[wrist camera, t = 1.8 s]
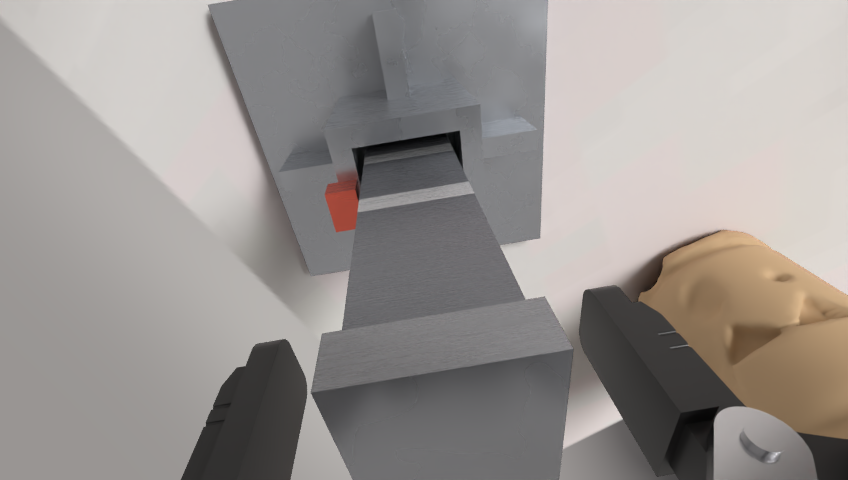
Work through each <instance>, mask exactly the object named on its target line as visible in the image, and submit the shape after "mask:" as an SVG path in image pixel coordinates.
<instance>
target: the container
mask: <svg viewBox="0 0 848 480" xmlns="http://www.w3.org/2000/svg"><path fill="white" fill-rule="evenodd" d="M662 265H663V268H662V272H661V274H660V276H659V278H658V280H657V282H656V284H655V285H654V286H653V287H652V288H651V289H650V290H648V291H646V292H641V294H640V296H639V298H638V302H639V301H641V302H643V303H644V304H646V305H648V306H649V307H651V308H653V309H654V310H656V311H658V312H659V313H661V314H662V315H663V316H664V317H665V318H666V320H667V321H668V322H669V323H670V324H671V325H672V326H673V327H674V328H675V329H676V333H679V334H680V335H681V336H682V337H683V338H684V339H685V340H686V342H687V343H688V346H689V347H692V348H693V349H694V350H695V351H696V353H697V354H698V355H699V356H700V357H701V358H702V359H703V360H704V361H705V362H706V364H707V365H708V366H709V367H710V368H711V369H712V370H713V371H714V372H715V373H716V375H717V376H718V377H719V378H720V379H721V380H722V381H723V382H724V383H725V384H726V386H727V387H728V388H729V389H730V390H731V391H732V392H733V393H734V394H735V395H736V397H737V398H738V399H739V400H740V401H741V402H742V403H743V404H744V405H745V406H747V407H749V408H753V409H757V410H760V411H763V412H765V413H768V414H770V415H772V416H774V417H776V418H777V419H779V420H781V421H783V422H784V423H785V424H787V425H788V426H789V427H791V428H792V429H793V430H794V431H795V432H800V433H805V434H813V435H820V436H827V437H834V438H842V439H848V295H846V294H844V293H843V292H841V291H840V290H838V289H836V288H835V287H833V286H831V285H830V284H828V283H827V282H825V281H823V280H822V279H820V278H819V277H817V276H816V275H814V274H813V273H811V272H809V271H808V270H806V269H804V268H803V267H801V266H800V265H798V264H796V263H795V262H793V261H792V260H790V259H788V258H787V257H785V256H784V255H782V254H780V253H779V252H777V251H774V250H772V249H771V248H770V247H769V246H767V245H766V244H765V243H763V242H761V241H760V240H758V239H757V238H755V237H753V236H751V235H749V234H746V233H743V232H738V231H728V230H720V231H719V232H718V233H715V234H713V235H710V236H706V237H705V238H703V239H700V240H698V241H696V242H694V243H692V244H690V245H687V246H684V247H681V248H679V249H678V250H676V251H674V252H672V253H670V254H668V255H667V256H665V257H664V258H663V262H662Z"/></svg>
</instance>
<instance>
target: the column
mask: <svg viewBox="0 0 848 480" xmlns="http://www.w3.org/2000/svg"><path fill="white" fill-rule="evenodd" d="M572 358H573V347H572V345H571V343H570V342H569V340H568V338H567V336H566V334H565V333H564V331H563V329H562V327H561V325H560V323H559V322H558V320H557V318H556V316H555V314H554V313H553V311H552V309H551V307H550V305H549V304H548V302H547V300H546V298H545V297H540V298H534V299H528V300H525V298H524V296H523V293H522V291H521V289H520V287H519V285H518V283H517V281H516V279H515V277H514V275H513V273H512V271H511V268H510V266H509V264H508V262H507V260H506V258H505V256H504V254H503V252H502V250H501V248H500V246H499V243H498V241H497V239H496V237H495V235H494V233H493V231H492V229H491V227H490V225H489V223H488V221H487V218H486V216H485V214H484V212H483V210H482V208H481V206H480V204H479V202H478V200H477V198H476V196H475V193H474V191H473V189H472V187H471V185H470V183H469V181H468V179H467V177H466V175H465V173H464V171H463V168H462V166H461V164H460V162H459V160H458V158H457V156H456V154H455V152H454V150H453V148H452V146H451V144H450V141H449V139H448V137H447V135H446V133H441V134H435V135H429V136H423V137H417V138H411V139H405V140H399V141H393V142H387V143H381V144H375V145H369V146H366V151H365V159H364V166H363V174H362V182H361V189H360V197H359V204H358V212H357V220H356V227H355V235H354V243H353V250H352V258H351V266H350V273H349V281H348V289H347V296H346V304H345V311H344V319H343V327H342V330H341V331H335V332H329V333H323V334H322V336H321V342H320V347H319V353H318V357H317V363H316V368H315V373H314V378H313V384H312V389H311V394H312V396H313V398H314V400H315V402H316V404H317V407H318V408H319V411H320V413H321V415H322V417H323V419H324V421H325V423H326V425H327V427H328V429H329V431H330V433H331V435H332V437H333V440H334V442H335V444H336V446H337V448H338V450H339V452H340V454H341V456H342V458H343V460H344V462H345V464H346V467H347V468H348V470H349V473H350V475H351V477H352V479H353V480H559V476H560V466H561V458H562V449H563V440H564V431H565V422H566V412H567V403H568V394H569V385H570V376H571V367H572Z"/></svg>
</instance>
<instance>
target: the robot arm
mask: <svg viewBox="0 0 848 480" xmlns="http://www.w3.org/2000/svg"><path fill="white" fill-rule="evenodd" d="M579 335H580V341H581V345H582V348H583V350H584V352H585V354H586V356H587V358H588V359H589V361H590V363H591V364H592V366H593V368H594V370H595V371H596V373H597V375H598V376H599V378H600V380H601V382H602V383H603V385H604V387H605V388H606V390H607V392H608V394H609V395H610V397H611V399H612V401H613V402H614V404H615V406H616V407H617V409H618V411H619V413H620V414H621V416H622V418H623V419H624V421H625V423H626V425H627V426H628V428H629V430H630V431H631V433H632V435H633V436H634V438H635V440H636V442H637V443H638V445H639V447H640V449H641V450H642V452H643V454H644V455H645V457H646V459H647V460H648V462H649V464H650V466H651V467H652V469H653V471H654V472H655V474H656V476H657V477H659V476H665V475H670V474H676V476H677V478H678V479H679V480H848V439H842V438H834V437H827V436H820V435H813V434H805V433H800V432H795V431H794V430H793V429H792V428H791V427H789V426H788V425H787V424H785V423H784V422H783V421H781V420H779V419H777V418H776V417H774V416H772V415H770V414H768V413H765V412H763V411H760V410H757V409H753V408H749V407H747V406H745V405H744V404H743V403H742V402H741V401H740V400H739V399H738V398H737V397H736V395H735V394H734V393H733V392H732V391H731V390H730V389H729V388H728V387H727V386H726V384H725V383H724V382H723V381H722V380H721V379H720V378H719V377H718V376H717V375H716V373H715V372H714V371H713V370H712V369H711V368H710V367H709V366H708V365H707V364H706V362H705V361H704V360H703V359H702V358H701V357H700V356H699V355H698V354H697V353H696V351H695V350H694V349H693V348H692V347H689V346H688V343H687V342H686V340H685V339H684V338H683V337H682V336H681V335H680V334H679V333H676V329H675V328H674V327H673V326H672V325H671V324H670V323H669V322H668V321H667V320H666V318H665V317H664V316H663V315H662V314H661V313H659V312H658V311H656V310H654V309H653V308H651V307H649V306H648V305H646V304H644V303H643V302H641V301H639V302H633V303H632V302H631V301H630V300H629V299H628V297H627V296H626V295H625V294H624V293H623V291H622V290H621V289H620V288H619V287H617V286H615V285H612V286H606V287H600V288H594V289H588V290H585V292H584V294H583V301H582V310H581V319H580V328H579ZM306 399H307V383H306V378H305V375H304V373H303V371H302V369H301V367H300V365H299V362H298V360H297V358H296V356H295V354H294V352H293V350H292V348H291V345H290V343H289V342H288V341H287V340H286V339H283V340H277V341H271V342H265V343H259V344H256V345H255V346H254V347H253V349H252V351H251V354H250V356H249V359H248V361H247V364H246V366H244V367H238V368H236V369H235V371H234V372H233V373H232V374H231V375H230V377H229V378H228V379H227V380H226V381H225V383H224V384H223V385H222V387H221V389H220V391H219V393H218V396H217V398H216V400H215V403H214V405H213V410H211V412H210V414H209V416H208V419H207V421H206V427H204V428H203V430H202V432H201V435H200V437H199V439H198V442H197V444H196V446H195V448H194V451H193V453H192V455H191V458H190V460H189V462H188V465H187V467H186V469H185V472H184V474H183V476H182V479H181V480H290V479H291V474H292V469H293V464H294V459H295V454H296V449H297V443H298V439H299V434H300V429H301V424H302V419H303V414H304V409H305V404H306Z"/></svg>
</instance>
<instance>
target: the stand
mask: <svg viewBox="0 0 848 480" xmlns="http://www.w3.org/2000/svg"><path fill="white" fill-rule="evenodd" d="M208 7H209V10H210V12H211V15H212V18H213V20H214V23H215V25H216V28H217V31H218V33H219V36H220V39H221V41H222V44H223V46H224V49H225V52H226V54H227V57H228V60H229V62H230V65H231V67H232V70H233V73H234V75H235V78H236V81H237V83H238V86H239V88H240V91H241V94H242V96H243V99H244V102H245V104H246V107H247V109H248V112H249V115H250V117H251V120H252V123H253V125H254V128H255V130H256V133H257V136H258V138H259V141H260V144H261V146H262V149H263V151H264V154H265V157H266V159H267V162H268V165H269V167H270V170H271V172H272V175H273V178H274V180H275V183H276V186H277V188H278V191H279V193H280V196H281V199H282V201H283V204H284V207H285V209H286V212H287V214H288V217H289V220H290V222H291V225H292V228H293V230H294V233H295V235H296V238H297V241H298V243H299V246H300V249H301V251H302V254H303V256H304V259H305V262H306V264H307V267H308V270H309V272H310V275H311V276H316V275H322V274H328V273H334V272H340V271H346V270H350V266H351V258H352V250H353V243H354V235H355V227H356V220H357V212H358V204H359V197H360V189H361V182H362V174H363V166H364V159H365V151H366V146H369V145H375V144H381V143H387V142H393V141H399V140H405V139H411V138H417V137H423V136H429V135H435V134H441V133H446V135H447V137H448V139H449V141H450V144H451V146H452V148H453V150H454V152H455V154H456V156H457V158H458V160H459V162H460V164H461V166H462V168H463V171H464V173H465V175H466V177H467V179H468V181H469V183H470V185H471V187H472V189H473V191H474V193H475V196H476V198H477V200H478V202H479V204H480V206H481V208H482V210H483V212H484V214H485V216H486V218H487V221H488V223H489V225H490V227H491V229H492V231H493V233H494V235H495V237H496V239H497V241H498V243H499V245H503V244H509V243H515V242H521V241H527V240H533V239H539V238H540V227H541V196H542V166H543V135H544V105H545V74H546V44H547V13H548V0H234V1H228V2H222V3H216V4H210V5H208Z"/></svg>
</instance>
